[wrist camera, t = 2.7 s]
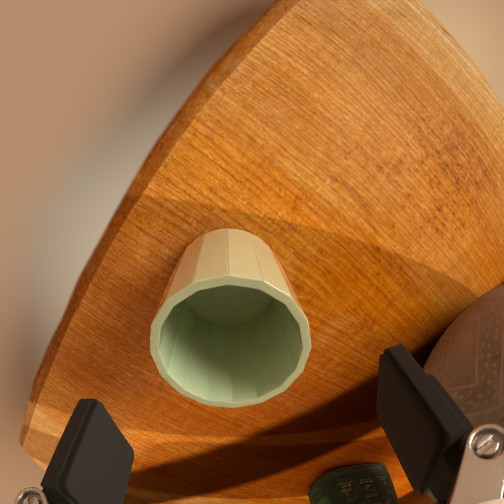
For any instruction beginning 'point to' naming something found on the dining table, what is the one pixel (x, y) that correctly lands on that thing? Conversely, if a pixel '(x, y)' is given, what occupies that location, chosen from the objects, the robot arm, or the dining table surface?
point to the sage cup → (229, 323)
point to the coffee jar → (354, 486)
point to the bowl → (474, 360)
